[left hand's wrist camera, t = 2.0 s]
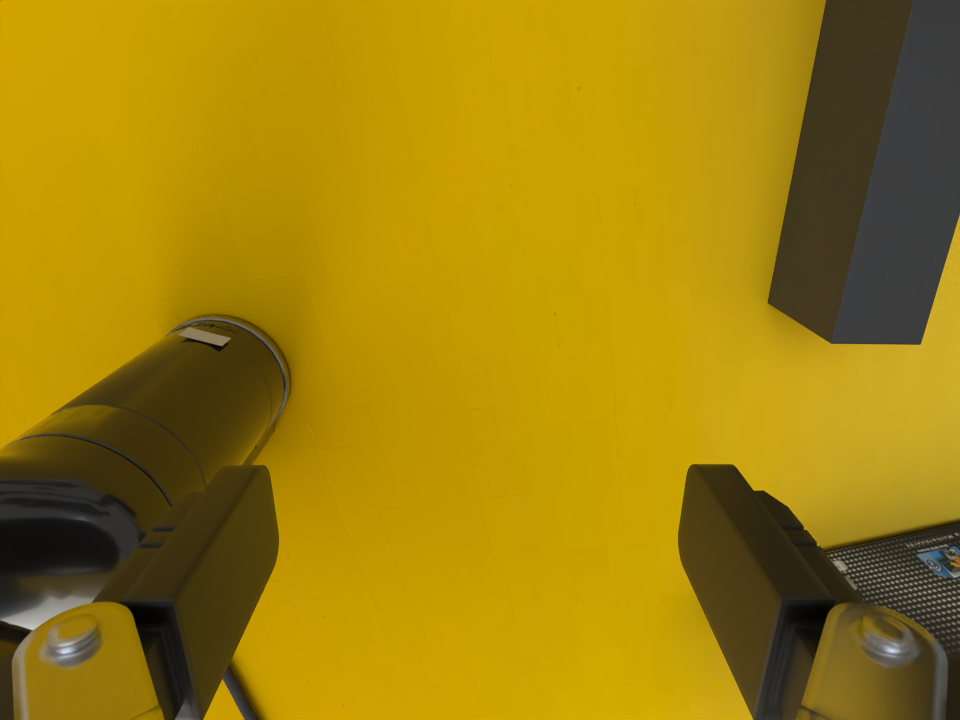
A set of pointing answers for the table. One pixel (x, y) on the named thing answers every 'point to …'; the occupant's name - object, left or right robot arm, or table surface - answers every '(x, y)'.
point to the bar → (874, 173)
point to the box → (911, 578)
